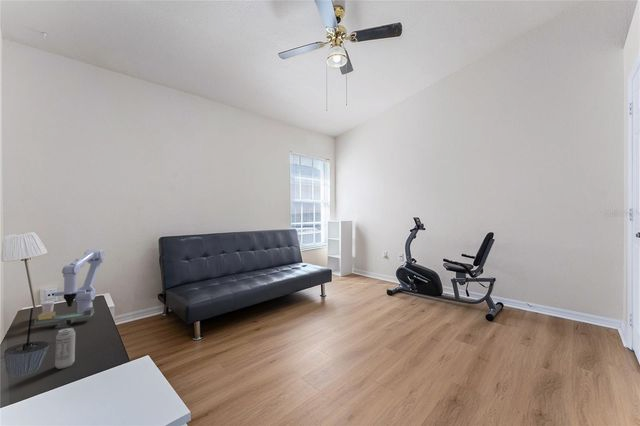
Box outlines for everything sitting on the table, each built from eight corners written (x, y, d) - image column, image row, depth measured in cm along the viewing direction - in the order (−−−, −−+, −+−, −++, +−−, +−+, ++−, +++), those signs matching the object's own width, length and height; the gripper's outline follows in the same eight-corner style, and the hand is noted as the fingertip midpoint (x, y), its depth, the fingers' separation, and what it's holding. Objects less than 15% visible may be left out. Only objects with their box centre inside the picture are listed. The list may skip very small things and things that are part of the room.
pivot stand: (62, 322, 166) (62, 314, 167) (75, 320, 169) (75, 312, 169) (55, 328, 156) (55, 320, 156) (68, 326, 159) (68, 318, 159)
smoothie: (38, 318, 174) (39, 296, 175) (52, 315, 180) (52, 294, 180) (42, 319, 171) (43, 297, 172) (56, 316, 177) (56, 295, 177)
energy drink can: (78, 361, 118) (79, 327, 118) (65, 369, 112) (66, 332, 112) (64, 362, 117) (65, 327, 118) (50, 369, 111) (52, 333, 112)
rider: (41, 318, 159) (41, 313, 159) (55, 317, 162) (55, 311, 162) (38, 321, 155) (38, 315, 155) (52, 319, 158) (52, 313, 158)
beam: (40, 320, 161) (40, 313, 161) (94, 313, 173) (94, 306, 173) (33, 325, 153) (34, 317, 153) (90, 317, 165) (90, 310, 165)
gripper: (52, 287, 160) (51, 310, 159) (83, 284, 167) (83, 306, 166) (56, 284, 166) (56, 306, 165) (87, 282, 173) (86, 303, 172)
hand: (69, 306), depth 166 cm, fingers closed
